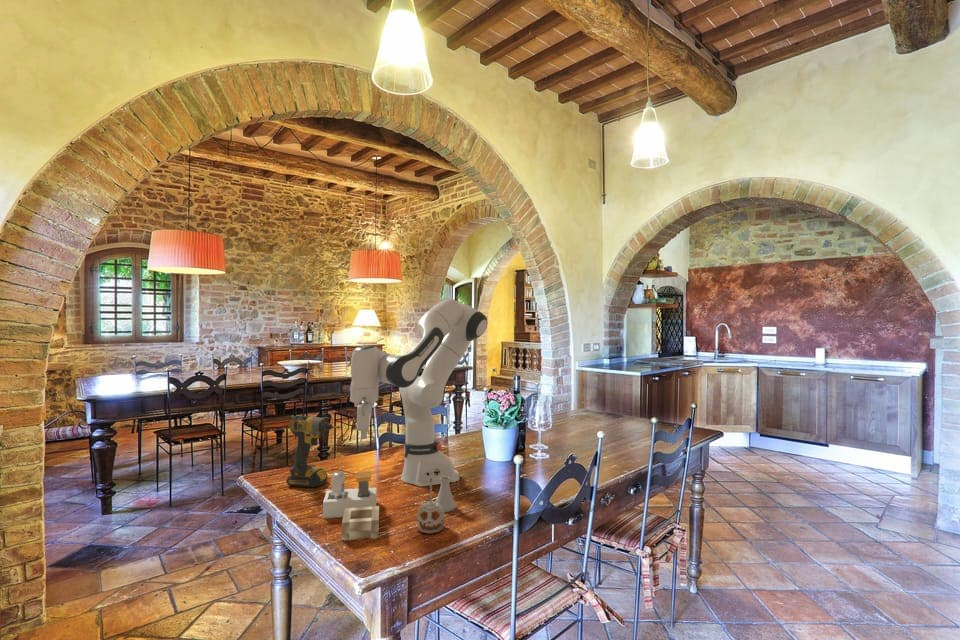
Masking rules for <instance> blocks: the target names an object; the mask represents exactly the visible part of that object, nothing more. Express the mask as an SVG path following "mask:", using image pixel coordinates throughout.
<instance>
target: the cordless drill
mask: <svg viewBox="0 0 960 640" xmlns="http://www.w3.org/2000/svg"><path fill="white" fill-rule="evenodd" d="M334 428H336V429H341V428H342V427H341V426H334V425H333V424H332V423H329V421H328V419H326V418H322V417H318V416H310V415H299V414H298V415H294V416H292V417H290V420H289V421H288V430H289V431H290V432H291V433H292V435H294V436H296V437H297V445H296V449H295V454H294V462H293V465H292V466H291V467H290V469H289V474H290V475H289V476H287V479H286V485H288V486H290V487H291V486H293V487H303V488H304V487H305V488H317V487H322V486H323V485H325V484H326V483H327V482H328V474H327V472H326V471H325V469H323V468H322V467H320V466H319V465H318V466H317V465H315V464H308V463H307V459H308V456H309V454H310V450H311V446H317V445H318V439H320V438H322V437H323V436H324V435H325V434H326V432H327V431H328V430H332V429H334Z"/></svg>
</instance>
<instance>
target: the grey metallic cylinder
mask: <svg viewBox="0 0 960 640" xmlns="http://www.w3.org/2000/svg"><path fill="white" fill-rule="evenodd" d="M345 477H346V472H344V471H334V472H332V473H331V490H332V499H343V498H345V489H346V488H345V487H346V486H345V485H346V484H345V481H346V480H345Z"/></svg>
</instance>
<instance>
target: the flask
mask: <svg viewBox="0 0 960 640" xmlns="http://www.w3.org/2000/svg"><path fill="white" fill-rule="evenodd" d="M440 480H441V484H440V488H439V491H438V494H437V497H436V500H435V503H439V505H441V507H442V509H443V511H444V513H449V512H452V511H453V512H454V511H455V509H456V508H457V504H456V502H455V500H454V497H453V494H452V491H451V486H450V483H449V480H450V477H445V476H444V477H441V478H440Z"/></svg>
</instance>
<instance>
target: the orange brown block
mask: <svg viewBox="0 0 960 640" xmlns="http://www.w3.org/2000/svg"><path fill="white" fill-rule="evenodd" d="M371 477H372V471H371V470H369V471H357V472H356V479H355V482H357V483H358V488H359V497H368V495H369V488H370V482H371V480H372V478H371Z"/></svg>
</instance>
